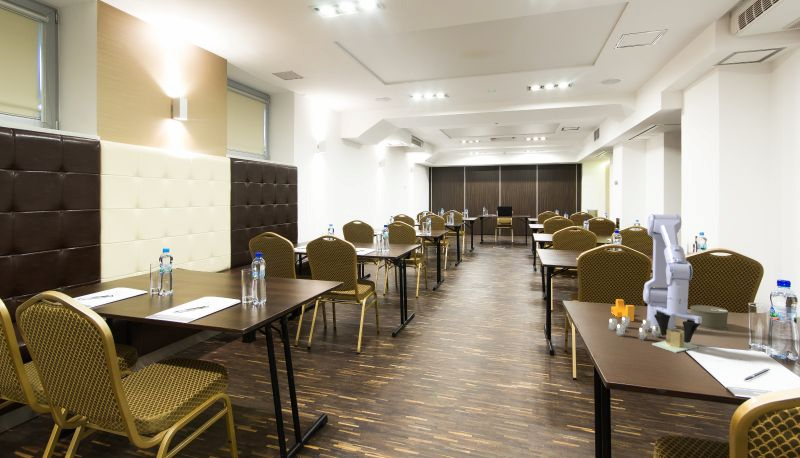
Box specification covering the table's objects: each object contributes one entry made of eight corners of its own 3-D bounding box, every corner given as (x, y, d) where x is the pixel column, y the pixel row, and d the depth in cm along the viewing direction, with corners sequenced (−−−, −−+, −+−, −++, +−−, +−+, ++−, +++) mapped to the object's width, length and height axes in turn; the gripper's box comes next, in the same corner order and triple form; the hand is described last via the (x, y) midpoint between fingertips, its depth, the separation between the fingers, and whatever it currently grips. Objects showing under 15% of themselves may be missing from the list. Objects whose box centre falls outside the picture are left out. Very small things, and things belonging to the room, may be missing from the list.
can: (689, 319, 168) (689, 303, 168) (725, 324, 162) (726, 307, 161) (689, 326, 159) (690, 309, 158) (728, 332, 152) (730, 314, 151)
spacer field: (630, 324, 160) (631, 314, 160) (668, 336, 147) (668, 325, 146) (600, 330, 153) (601, 319, 153) (637, 342, 140) (637, 330, 140)
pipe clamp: (611, 313, 177) (611, 299, 177) (621, 313, 177) (622, 299, 176) (622, 321, 165) (623, 305, 165) (633, 322, 165) (634, 306, 164)
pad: (674, 340, 142) (674, 339, 142) (698, 347, 135) (698, 346, 135) (651, 344, 138) (651, 343, 138) (675, 352, 130) (675, 351, 130)
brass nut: (673, 342, 139) (673, 327, 139) (686, 346, 135) (687, 331, 135) (663, 343, 137) (664, 329, 137) (676, 348, 133) (677, 333, 133)
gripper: (648, 295, 140) (646, 333, 141) (693, 305, 127) (690, 347, 128) (661, 293, 143) (660, 331, 144) (706, 302, 130) (704, 344, 131)
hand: (675, 338), depth 136 cm, fingers open, 7 cm apart
